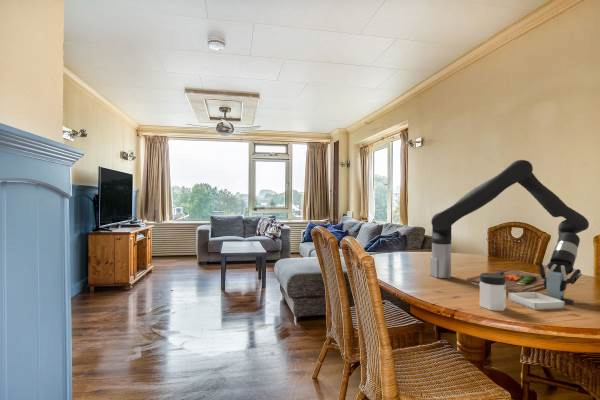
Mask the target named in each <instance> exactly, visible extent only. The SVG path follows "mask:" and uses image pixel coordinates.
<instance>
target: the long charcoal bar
mask: <svg viewBox="0 0 600 400" xmlns="http://www.w3.org/2000/svg"><path fill="white" fill-rule="evenodd" d="M539 293H540V292H539ZM540 294H543V295H546V296H547V293H546V294H545V293H540ZM561 301H564V302H565V304H566V303H567V305H574V301H575V300H574V299H570V298H565V297H564V298H561Z"/></svg>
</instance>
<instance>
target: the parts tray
mask: <svg viewBox="0 0 600 400" xmlns="http://www.w3.org/2000/svg"><path fill="white" fill-rule="evenodd" d="M507 294H508V295H507V300H509V301H511V302H513V303H515V304H518V305H520V306H524V307H526V308H529V309H531V310H534V311H543V310H558V309H559V310H560V309H565V308H566V307H565V305H566V303H565V302H564V301H561V300H558V299H555V298H552V297H549V296H546V295H547V294H546V295H543V294H544V293H541V294H540V292H537V291H533V292H522V293H515V292H507Z"/></svg>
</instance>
